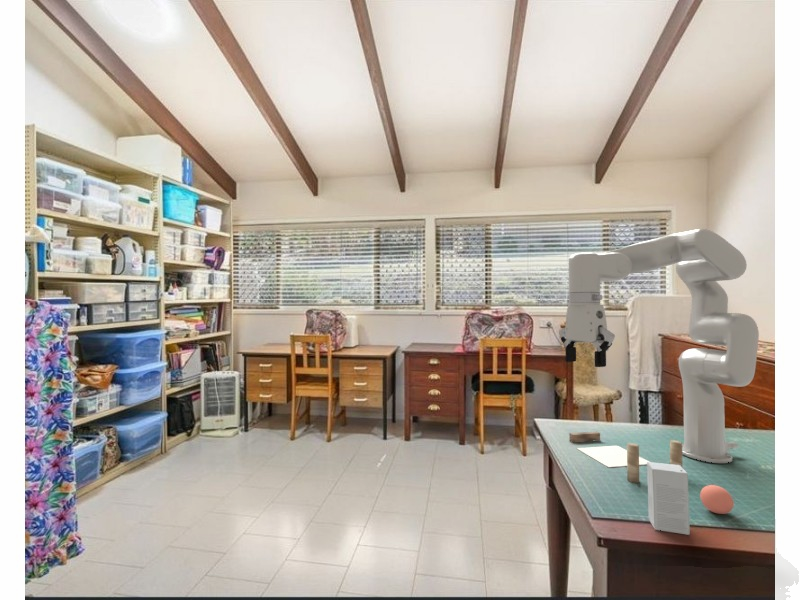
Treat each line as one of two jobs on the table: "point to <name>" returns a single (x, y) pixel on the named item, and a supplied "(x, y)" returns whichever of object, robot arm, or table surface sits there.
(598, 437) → the wall
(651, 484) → the skincare box
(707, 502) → the ball
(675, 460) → the post
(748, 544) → the table surface
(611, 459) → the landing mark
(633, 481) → the post
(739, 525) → the table surface
